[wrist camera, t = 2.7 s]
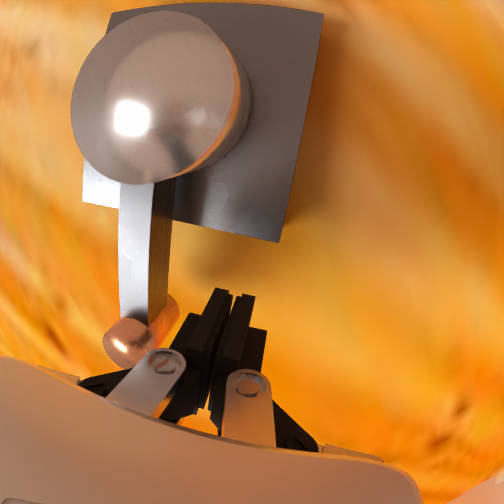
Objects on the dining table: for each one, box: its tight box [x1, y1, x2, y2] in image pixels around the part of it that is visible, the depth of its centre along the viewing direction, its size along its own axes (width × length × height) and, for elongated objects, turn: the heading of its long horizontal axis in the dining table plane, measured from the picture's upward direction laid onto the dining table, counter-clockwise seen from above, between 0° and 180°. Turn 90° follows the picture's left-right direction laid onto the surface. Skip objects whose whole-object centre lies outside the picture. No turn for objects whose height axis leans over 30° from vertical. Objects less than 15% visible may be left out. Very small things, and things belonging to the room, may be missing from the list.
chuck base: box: [82, 3, 324, 243], centre depth 14 cm, size 12×12×3 cm
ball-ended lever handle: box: [71, 11, 251, 370], centre depth 12 cm, size 16×7×4 cm, turn 170°
